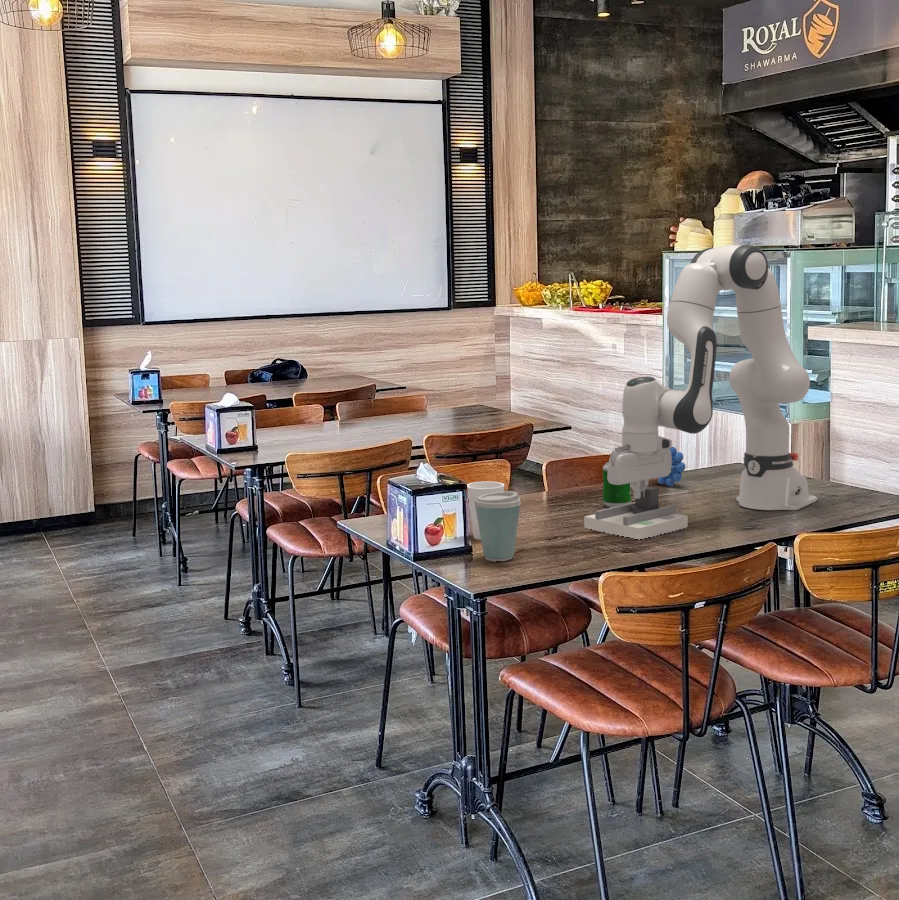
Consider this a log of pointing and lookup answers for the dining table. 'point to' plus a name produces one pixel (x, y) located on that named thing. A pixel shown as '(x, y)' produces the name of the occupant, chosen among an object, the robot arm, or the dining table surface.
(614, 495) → the soda can
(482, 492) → the foam cup
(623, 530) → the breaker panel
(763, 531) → the dining table surface
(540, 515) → the dining table surface
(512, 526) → the disposable coffee cup
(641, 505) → the handle
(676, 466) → the grapes
